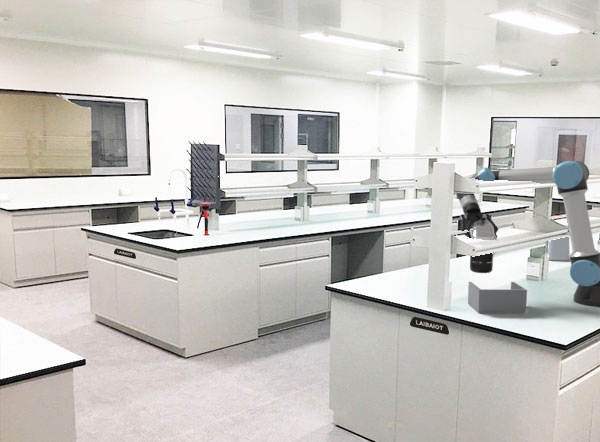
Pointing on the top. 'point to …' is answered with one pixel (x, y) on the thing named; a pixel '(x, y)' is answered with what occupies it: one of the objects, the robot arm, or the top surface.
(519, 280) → the top surface
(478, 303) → the box
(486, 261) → the silver and black canister
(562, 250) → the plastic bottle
